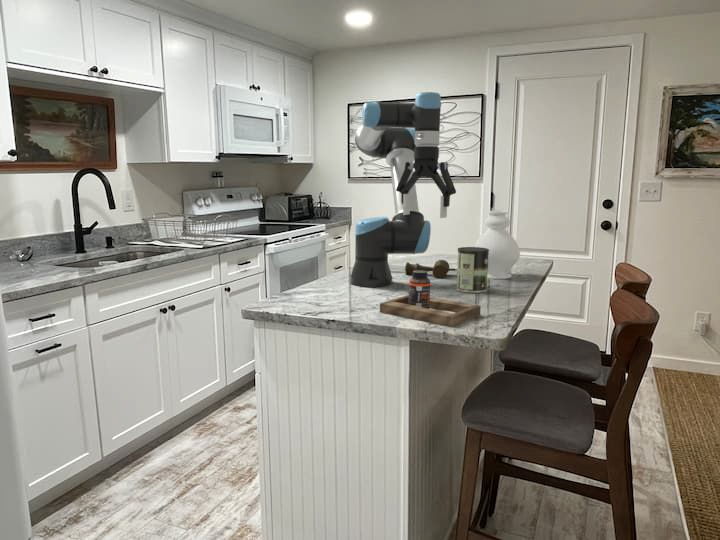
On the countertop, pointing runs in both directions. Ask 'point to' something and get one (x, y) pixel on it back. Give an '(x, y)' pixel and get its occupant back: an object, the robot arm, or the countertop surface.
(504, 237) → the decorative vase
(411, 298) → the supplement bottle
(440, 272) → the kendama
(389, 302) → the brown wooden picture frame
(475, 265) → the coffee can
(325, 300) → the countertop surface
